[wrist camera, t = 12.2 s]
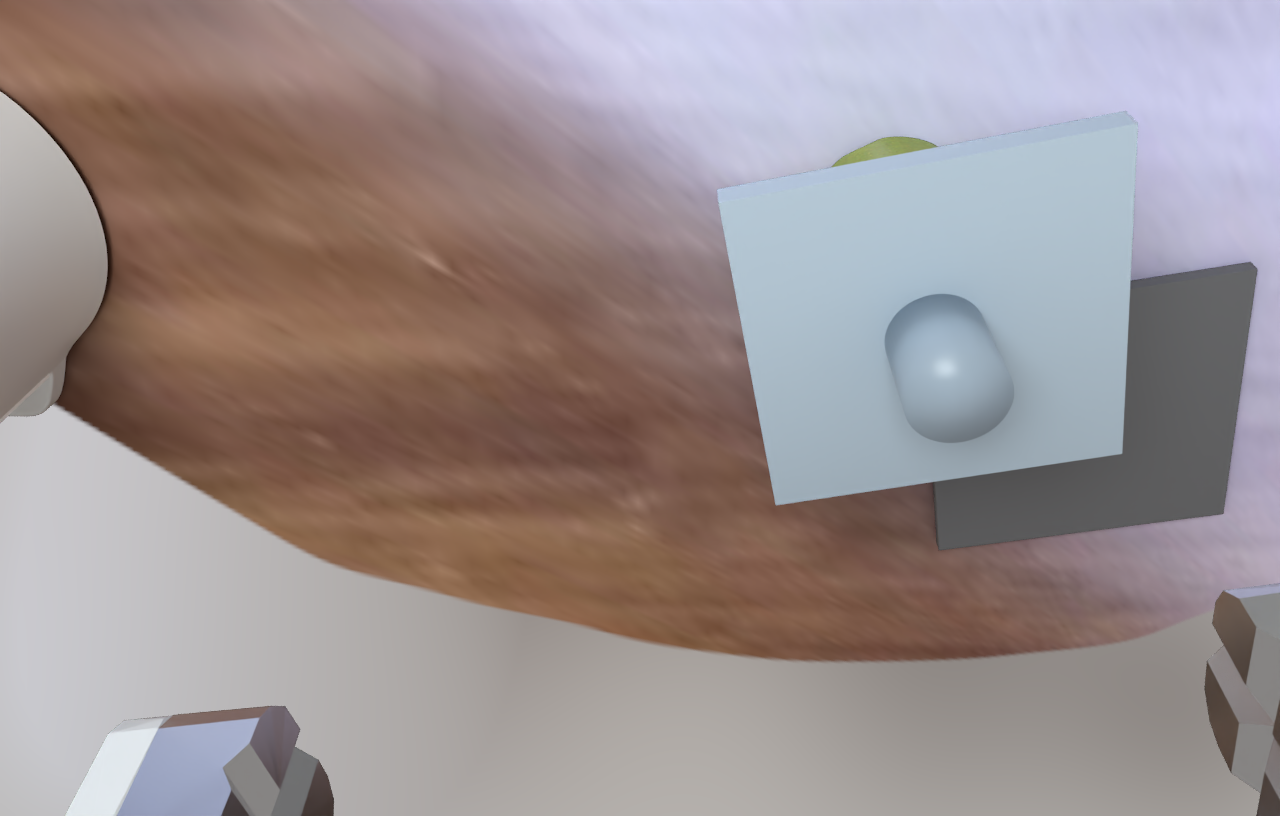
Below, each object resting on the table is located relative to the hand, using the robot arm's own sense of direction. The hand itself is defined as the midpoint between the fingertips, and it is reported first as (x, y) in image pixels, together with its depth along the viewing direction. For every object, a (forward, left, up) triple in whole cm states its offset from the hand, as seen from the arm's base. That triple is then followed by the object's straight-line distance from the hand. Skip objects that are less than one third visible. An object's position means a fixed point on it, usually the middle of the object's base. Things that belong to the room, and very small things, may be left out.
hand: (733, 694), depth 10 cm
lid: (+6, -12, -24) cm, 28 cm away
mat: (+13, -23, -33) cm, 43 cm away
